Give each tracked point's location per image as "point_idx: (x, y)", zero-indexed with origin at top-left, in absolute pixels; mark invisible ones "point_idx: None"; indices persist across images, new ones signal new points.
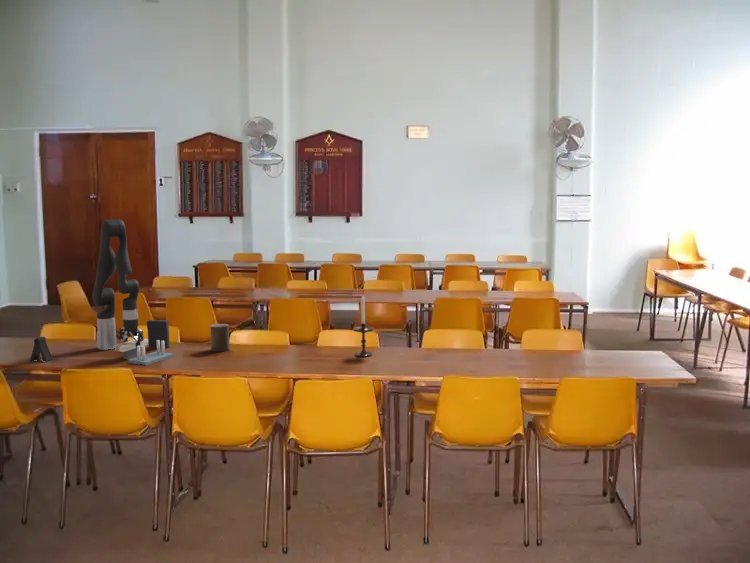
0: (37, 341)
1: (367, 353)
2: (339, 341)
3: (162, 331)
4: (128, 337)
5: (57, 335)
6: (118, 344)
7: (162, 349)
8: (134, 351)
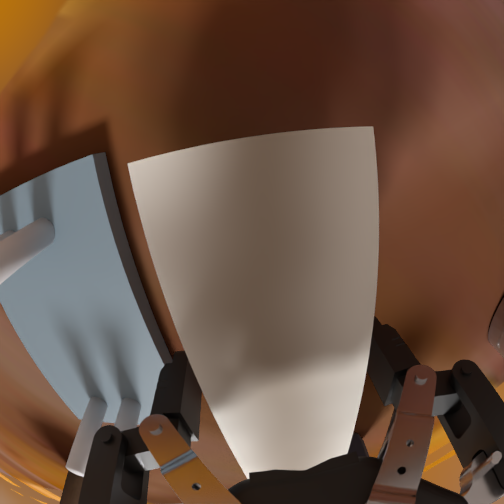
0: None
1: None
2: (59, 499)
3: None
4: (384, 441)
5: None
6: (353, 208)
7: (82, 421)
8: None
